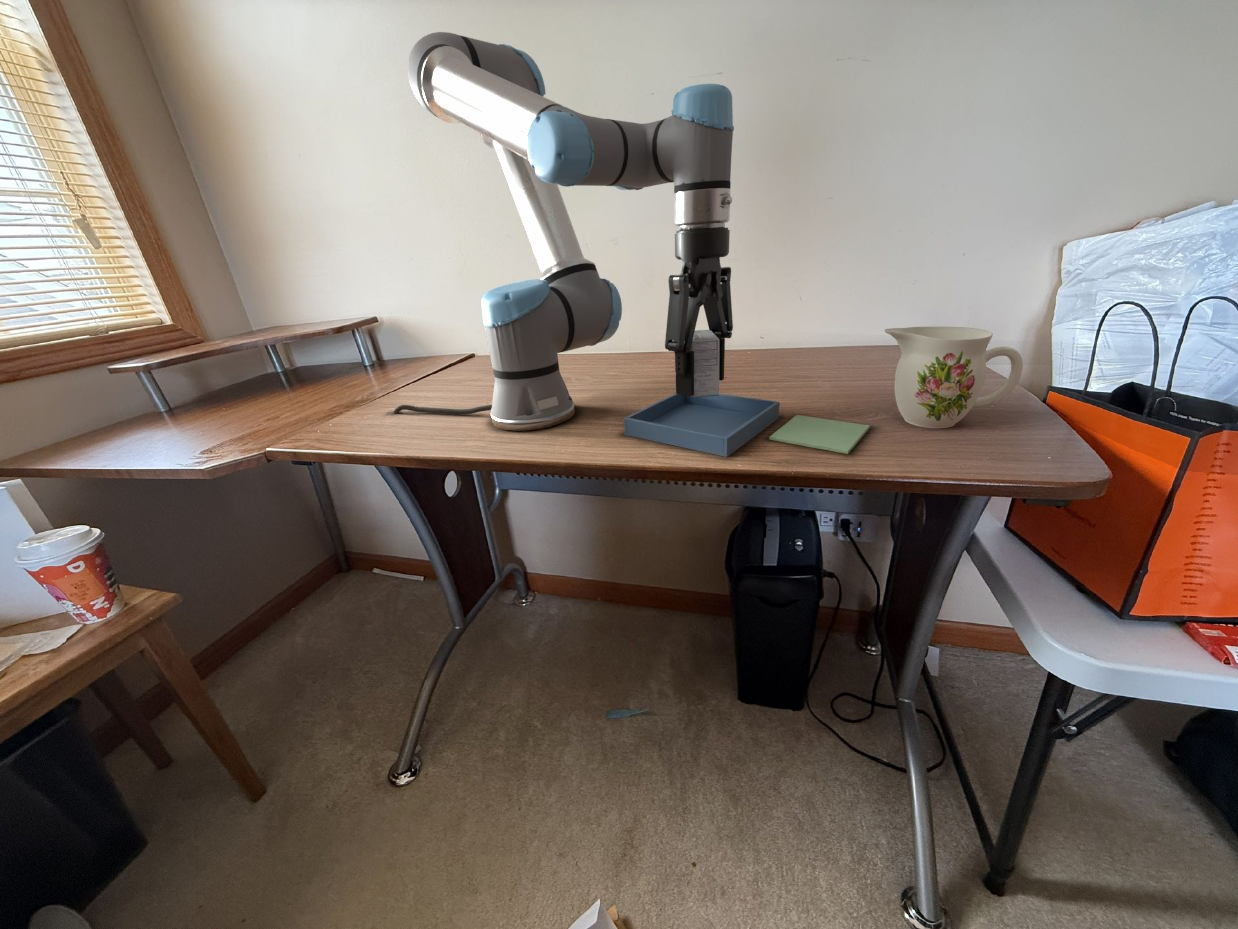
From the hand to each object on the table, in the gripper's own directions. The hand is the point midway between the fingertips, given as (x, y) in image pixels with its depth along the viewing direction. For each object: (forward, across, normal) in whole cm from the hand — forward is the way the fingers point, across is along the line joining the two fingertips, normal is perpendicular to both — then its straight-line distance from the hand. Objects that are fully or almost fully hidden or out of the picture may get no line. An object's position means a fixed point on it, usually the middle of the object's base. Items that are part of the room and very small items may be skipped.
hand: (700, 386), depth 75 cm
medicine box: (+1, 0, 0) cm, 1 cm away
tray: (+7, 0, 0) cm, 7 cm away
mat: (+6, +5, -17) cm, 19 cm away
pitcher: (+7, +18, -30) cm, 36 cm away
